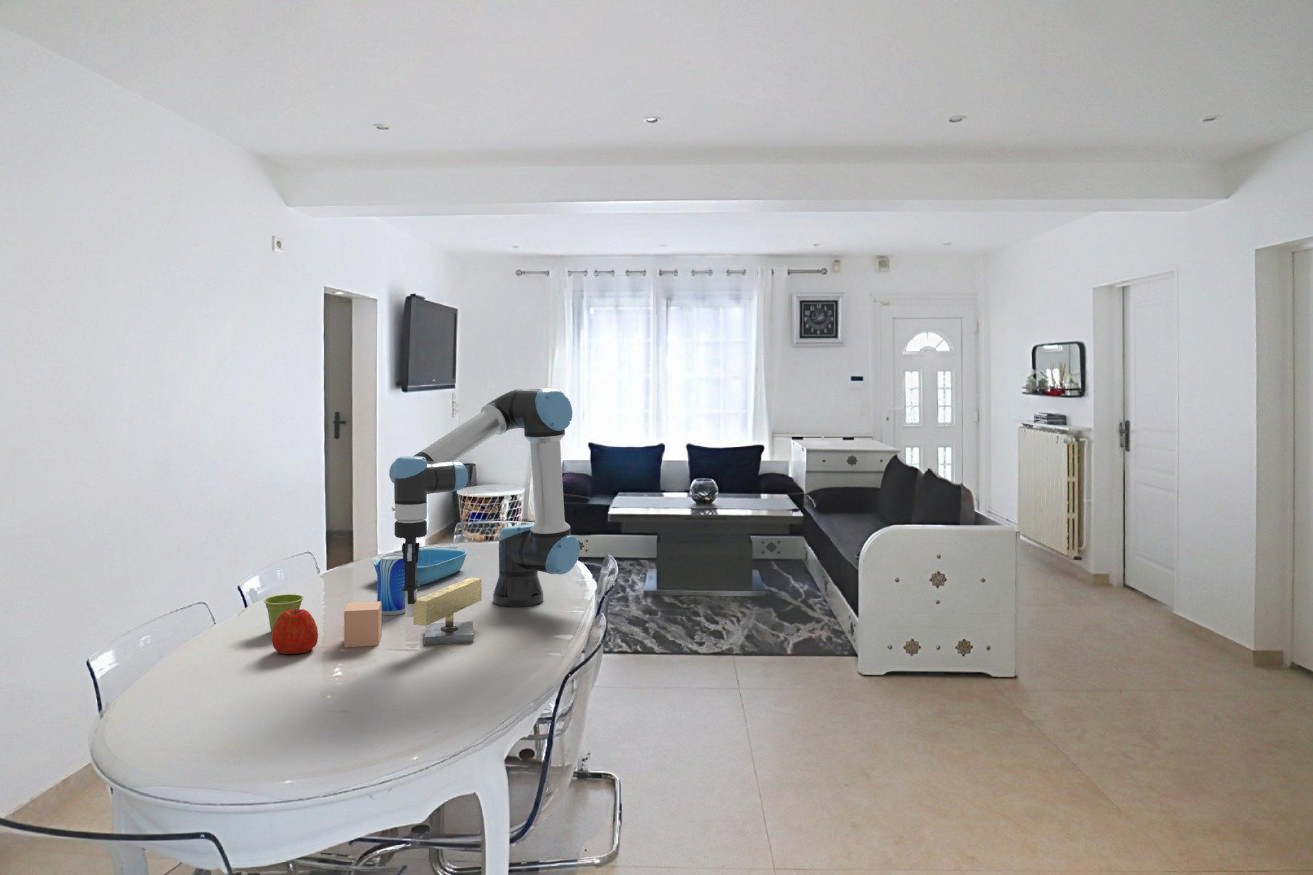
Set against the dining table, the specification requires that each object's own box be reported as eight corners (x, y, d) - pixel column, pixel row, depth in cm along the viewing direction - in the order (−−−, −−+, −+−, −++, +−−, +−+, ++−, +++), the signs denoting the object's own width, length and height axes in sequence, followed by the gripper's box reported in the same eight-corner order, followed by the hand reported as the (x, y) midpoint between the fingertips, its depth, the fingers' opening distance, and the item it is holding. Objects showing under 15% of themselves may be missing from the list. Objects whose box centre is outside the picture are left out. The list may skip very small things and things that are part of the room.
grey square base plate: (472, 628, 213) (472, 620, 213) (473, 641, 201) (473, 633, 201) (426, 631, 210) (426, 622, 210) (424, 644, 198) (424, 636, 198)
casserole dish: (421, 564, 294) (421, 544, 293) (476, 568, 288) (476, 548, 288) (360, 586, 258) (360, 564, 258) (422, 591, 253) (422, 569, 252)
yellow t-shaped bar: (469, 613, 218) (469, 577, 218) (481, 614, 217) (481, 578, 217) (413, 640, 193) (413, 599, 193) (426, 641, 192) (426, 601, 192)
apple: (272, 660, 185) (271, 616, 184) (271, 648, 194) (270, 605, 193) (319, 654, 190) (319, 611, 189) (316, 642, 199) (316, 601, 198)
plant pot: (311, 628, 211) (311, 596, 210) (284, 638, 202) (284, 604, 201) (283, 624, 214) (283, 592, 213) (255, 634, 205) (255, 601, 204)
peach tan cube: (381, 635, 205) (381, 601, 205) (378, 645, 197) (378, 609, 197) (348, 637, 203) (348, 602, 203) (344, 647, 195) (344, 611, 195)
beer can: (398, 616, 223) (398, 560, 222) (371, 614, 224) (371, 558, 224) (413, 609, 231) (413, 554, 230) (387, 607, 233) (387, 553, 232)
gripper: (396, 516, 198) (397, 609, 200) (392, 525, 186) (392, 624, 187) (427, 515, 200) (428, 607, 201) (425, 524, 188) (426, 622, 189)
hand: (411, 615), depth 194 cm, fingers closed
